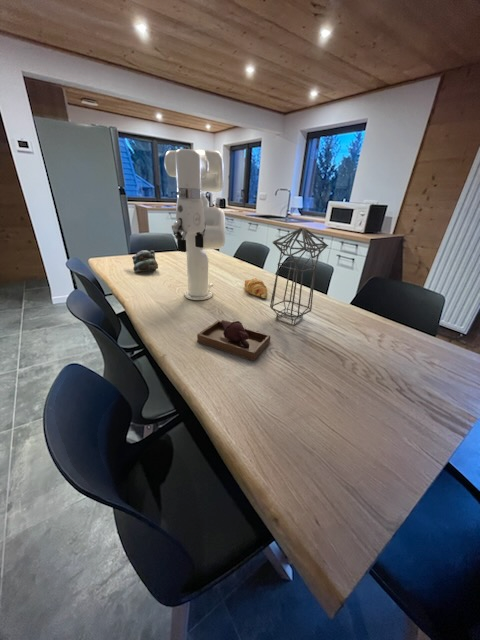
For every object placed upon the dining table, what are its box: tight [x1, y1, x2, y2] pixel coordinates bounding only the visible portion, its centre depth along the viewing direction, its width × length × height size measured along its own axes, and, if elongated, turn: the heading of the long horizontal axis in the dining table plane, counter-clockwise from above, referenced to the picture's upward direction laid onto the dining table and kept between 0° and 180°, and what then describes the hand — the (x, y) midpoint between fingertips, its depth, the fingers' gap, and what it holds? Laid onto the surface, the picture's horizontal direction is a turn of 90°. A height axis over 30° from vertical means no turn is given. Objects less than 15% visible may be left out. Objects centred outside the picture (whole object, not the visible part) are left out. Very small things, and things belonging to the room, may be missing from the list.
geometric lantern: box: [269, 227, 329, 326], centre depth 98 cm, size 16×16×35 cm
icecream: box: [220, 319, 249, 348], centre depth 86 cm, size 7×7×15 cm
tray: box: [196, 319, 271, 362], centre depth 87 cm, size 13×21×3 cm, turn 62°
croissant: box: [244, 278, 268, 299], centre depth 131 cm, size 21×10×8 cm, turn 26°
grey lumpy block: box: [131, 248, 159, 274], centre depth 155 cm, size 15×12×14 cm
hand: (191, 249), depth 92 cm, fingers open, 9 cm apart
